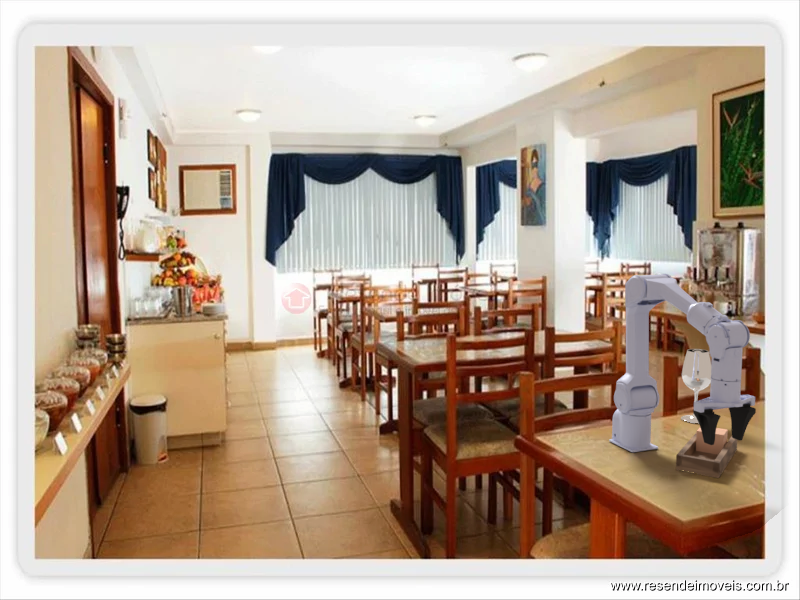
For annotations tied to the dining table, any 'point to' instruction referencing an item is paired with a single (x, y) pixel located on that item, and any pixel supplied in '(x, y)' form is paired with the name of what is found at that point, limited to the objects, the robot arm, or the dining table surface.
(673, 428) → the dining table surface
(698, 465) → the shallow wooden tray
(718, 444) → the block
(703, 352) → the wineglass
